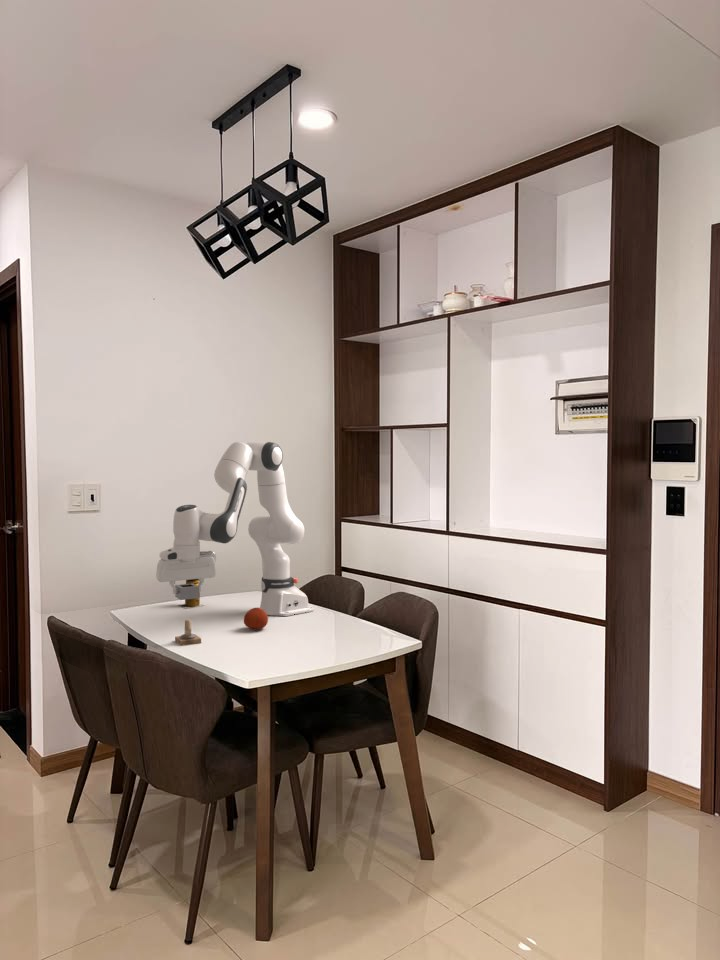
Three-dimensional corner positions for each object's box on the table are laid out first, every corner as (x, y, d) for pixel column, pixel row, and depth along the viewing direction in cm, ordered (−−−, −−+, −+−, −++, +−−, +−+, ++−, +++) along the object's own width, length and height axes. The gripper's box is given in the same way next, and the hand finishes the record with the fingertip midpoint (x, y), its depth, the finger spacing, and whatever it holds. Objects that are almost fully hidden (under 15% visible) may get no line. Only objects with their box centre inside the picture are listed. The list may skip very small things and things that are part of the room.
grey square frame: (193, 594, 258) (193, 583, 258) (198, 598, 252) (198, 586, 252) (175, 596, 255) (175, 585, 255) (180, 599, 249) (180, 588, 249)
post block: (194, 638, 259) (194, 617, 259) (201, 643, 253) (201, 621, 253) (175, 640, 255) (174, 619, 255) (181, 645, 249) (180, 623, 249)
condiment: (203, 605, 311) (203, 577, 311) (186, 608, 305) (185, 580, 305) (194, 603, 316) (194, 575, 316) (177, 606, 310) (176, 577, 310)
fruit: (241, 627, 275) (241, 606, 274) (264, 625, 278) (264, 604, 277) (246, 633, 266) (246, 611, 266) (270, 631, 270) (270, 609, 269)
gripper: (212, 549, 261) (213, 588, 261) (154, 553, 251) (155, 593, 251) (218, 551, 255) (219, 591, 256) (159, 555, 245) (160, 597, 246)
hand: (186, 592), depth 254 cm, fingers closed on grey square frame, 6 cm apart
